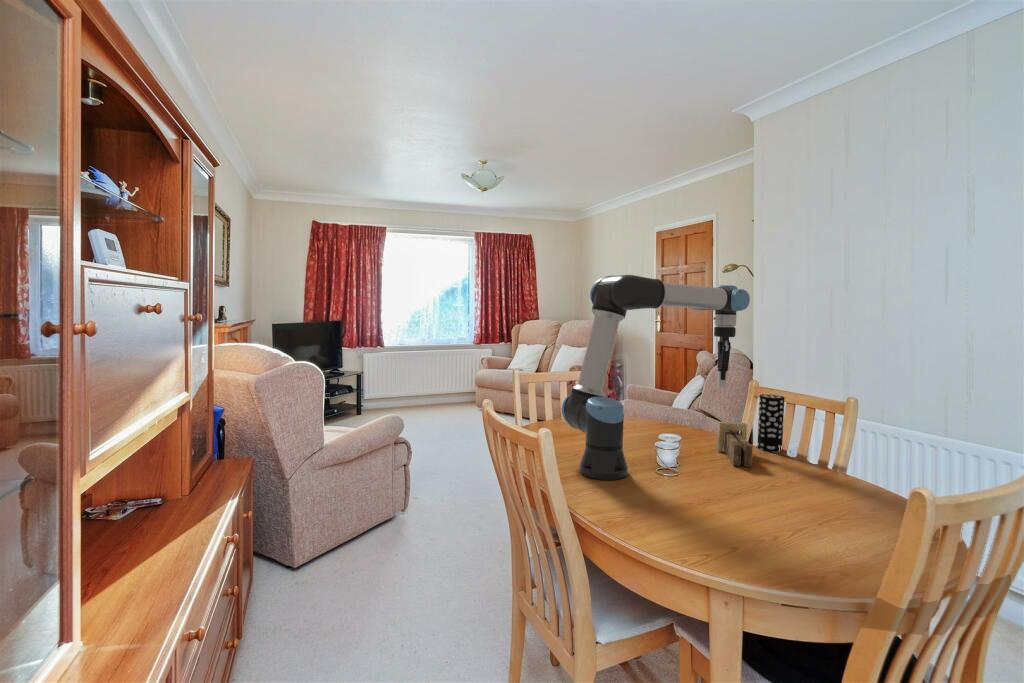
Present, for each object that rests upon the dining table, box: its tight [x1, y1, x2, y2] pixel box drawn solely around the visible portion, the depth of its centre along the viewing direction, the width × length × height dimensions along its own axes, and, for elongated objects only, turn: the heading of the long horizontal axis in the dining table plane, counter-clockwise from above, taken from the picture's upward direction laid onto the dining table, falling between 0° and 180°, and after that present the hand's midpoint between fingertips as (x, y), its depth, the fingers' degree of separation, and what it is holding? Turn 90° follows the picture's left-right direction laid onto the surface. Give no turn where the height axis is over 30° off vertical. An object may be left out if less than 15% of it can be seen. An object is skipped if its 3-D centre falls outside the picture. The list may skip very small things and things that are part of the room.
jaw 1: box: [723, 431, 741, 467], centre depth 180 cm, size 20×2×7 cm, turn 166°
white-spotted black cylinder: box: [756, 393, 786, 453], centre depth 192 cm, size 8×8×20 cm
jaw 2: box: [731, 431, 753, 468], centre depth 180 cm, size 20×2×7 cm, turn 170°
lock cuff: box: [716, 421, 748, 453], centre depth 188 cm, size 3×9×11 cm, turn 78°
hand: (721, 388), depth 196 cm, fingers closed
